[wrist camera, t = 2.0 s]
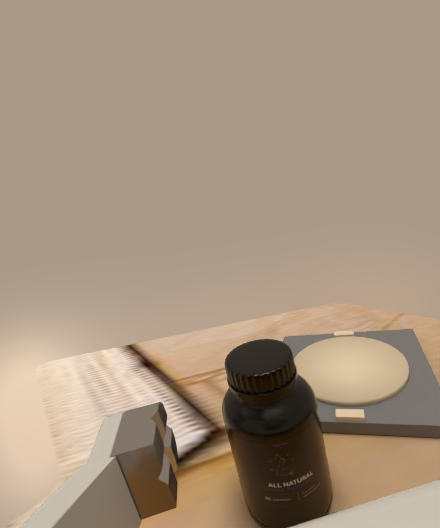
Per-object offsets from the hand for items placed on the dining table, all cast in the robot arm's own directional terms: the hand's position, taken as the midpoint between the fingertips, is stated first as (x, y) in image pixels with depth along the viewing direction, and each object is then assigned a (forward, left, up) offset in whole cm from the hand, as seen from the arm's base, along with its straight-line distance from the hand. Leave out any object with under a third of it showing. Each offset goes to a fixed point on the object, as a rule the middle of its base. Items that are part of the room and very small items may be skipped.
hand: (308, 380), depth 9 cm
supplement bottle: (-5, +11, -18) cm, 22 cm away
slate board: (0, +25, -18) cm, 31 cm away
